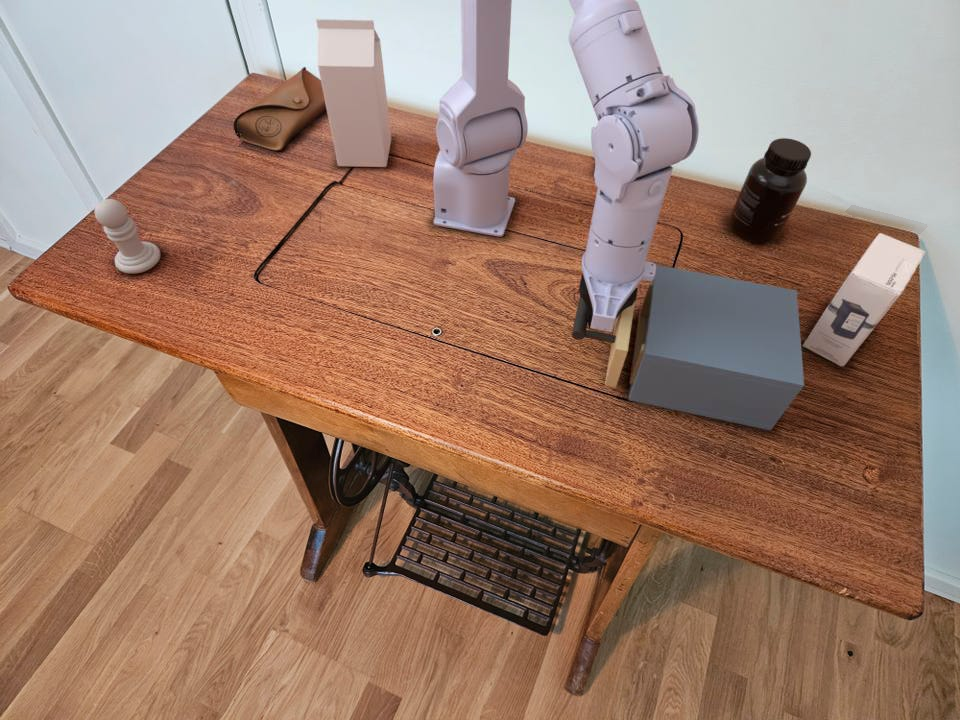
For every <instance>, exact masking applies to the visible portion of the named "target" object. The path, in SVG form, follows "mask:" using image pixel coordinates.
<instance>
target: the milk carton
mask: <svg viewBox="0 0 960 720" xmlns="http://www.w3.org/2000/svg"><path fill="white" fill-rule="evenodd" d="M315 22H316V25H317V68H318V73H319V79H320V80H321V83H322V88H323V93H324V99H325V104H326V109H327V111H326V113H327V118H328V123H329V128H330V133H331V138H332V142H333V144H332V145H333V149H334V153H335V158H336V163H337V166H338V167H354V168H355V167H357V168H358V167H360V168H361V167H363V168H365V167H366V168H386V167H387V165H388V159H389V154H390V149H391V142H392V133H391V131H392V130H391V123H390V115H389V105H388V97H387V96H388V95H387V89H386V87H387V86H386V80H385V78H386V77H385V72H384V62H383V53H382V45H381V44H382V43H381V39H380V36H379V35H378V32H377V31H376V29H375V23H374V19H338V18H336V19H335V18H316V19H315Z"/></svg>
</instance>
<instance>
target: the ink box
mask: <svg viewBox="0 0 960 720" xmlns="http://www.w3.org/2000/svg"><path fill="white" fill-rule="evenodd" d="M925 254H926V250H924V249H921V248H920V247H916V246H914V245H911V244H910V243H906V242H904V241H902V240H899V239H896V238H894V237H892V236H889V235H887V234H885V233H882V232H879V233H878V234H877V235H876V237H875V238H874V239H873V241H872V242H871V243H870V244H869V246H868V247H867V249H866V250H865V251H864V253H863V255H861V257H860V258H859V260H858V262H857V263H856V264H855V265H854V267H853V269H852V270H851V271H850V272H849V274H848V275H847V277H846V279H845V280H844V281H843V283H842V285H841V286H840V287H839V289H838V290H837V292H836V293H835V295H834V296H833V298H832V299H831V301H830V302H829V303H828V305H827V307H826V308H825V310H824V311H823V312H822V314H821V316H820V317H819V319H818V321H817V322H816V324H815V325H814V327H813V329H812V330H811V332H810V333H809V335H808V336H807V338H806V340H805V341H804V343H803V344H802V347H803V348H805V349H808V350H809V351H811V352H812V353H815V354H817V355H819V356H821V357H822V358H824V359H826V360H828V361H830V362H832V363H833V364H836V365H838V366H839V367H844V366H845V365H846V364H847V363H848V362H849V361H850V360H851V358H852V357H853V355H855V353H856V352H857V350H858V349H859V348H860V347H861V345H862V344H863V343H864V341H866V339H867V338H868V336H870V335H871V333H872V332H873V330H874V329H875V328H876V327H877V325H878V324H879V323H880V322H881V320H882V319H883V318H884V316H886V313H888V311H889V310H890V308H892V306H893V305H894V304H895V302H896V301H897V300H898V298H899V297H900V296H901V295H902V294H903V292H904V291H905V289H906V287H907V286H908V284H909V282H910V280H911V279H912V277H913V275H914V273H915V272H916V271H917V268H918V266H919V265H920V263H921V262H922V260H923V258H924V257H925V256H926V255H925Z"/></svg>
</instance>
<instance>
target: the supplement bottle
mask: <svg viewBox="0 0 960 720" xmlns="http://www.w3.org/2000/svg"><path fill="white" fill-rule="evenodd" d="M811 157H812V151H811V149H810V147H808V146H807V145H806V144H805V143H804V142H801V141H799V140H797V139H793V138H788V137H787V138H786V137H781V138H776V139H774V140H772V141H771V142H770V143H769V146H768V148H767V150H766V151H765V152H764V154H763V157H762V158H759V159H757V160H756V161H755V162H753V164H751V167H750V169H749V170H748V173H747V175H746V177H745V180H744V182H743V184H742V187H741V189H740V191H739V194H738V196H737V199H736V201H735V204H734V206H733V208H732V210H731V213H730V215H729V219H728V224H729V227H730V230H731V231H732V232H733V233H734V234H735V235H736V236H737V237H739V238H740V239H742V240H744V241H746V242H750V243H755V244H766V243H770V242H773V241H775V240H776V239H778V238H779V237H780V235H781V233H782V232H783V230H784V228H785V226H786V224H787V222H788V221H789V218H790V216H791V215H792V213H793V211H794V209H795V207H796V205H797V203H798V201H799V199H800V197H801V196H802V194H803V192H804V190H805V188H806V185H807V183H808V177H807V172H806V171H805V170H806V168H807V166H808V163H809V162H810V159H811Z"/></svg>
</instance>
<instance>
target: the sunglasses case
mask: <svg viewBox="0 0 960 720" xmlns="http://www.w3.org/2000/svg"><path fill="white" fill-rule="evenodd" d="M325 113H327V109H326V104H325V99H324V93H323V88H322V83H321V78H320V77H317V76H316V75H315V74H313V73H312V72H310V71H309V70H307V67H305V66H304V67H302V68H301V69H300V71H298V72H297V73H295V74H294V75H293V76H291V77H290V78H287V80H285V81H284V82H283V83H282V82H281V84H279V85H278V86H276V87H275V88H274V89H272V90H270V92H269V93H267V94H266V95H265V96H263V97H262V98H260V99H259V100H258V101H256V102H255V103H254V104H253V105H252V106H251V107H249V108H247V109H245V110H244V111H242V112H240V113H239V114H238V115H236V117H235V118H234V121H233V124H232V125H233V131H234V133H235V135H236V136H237V138H238V139H240V141H242V142H243V143H247V144H248V145H249V144H250V145H252V146H255V147H258V148H262V149H265V150H270V151H275V152H276V151H281V150H283V149H284V148H285V147H286V146H287V145H288V144H289V142H291V141H292V139H294V138H295V137H296V136H297V135H298V134H300V133H301V132H302V131H303V130H305V128H307V127H308V126H309V125H310V124H312V123H313V122H314V121H316V120H317V119H318V118H320V117H321V116H323V114H325ZM237 133H238V134H237ZM240 134H241V135H240Z"/></svg>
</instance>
